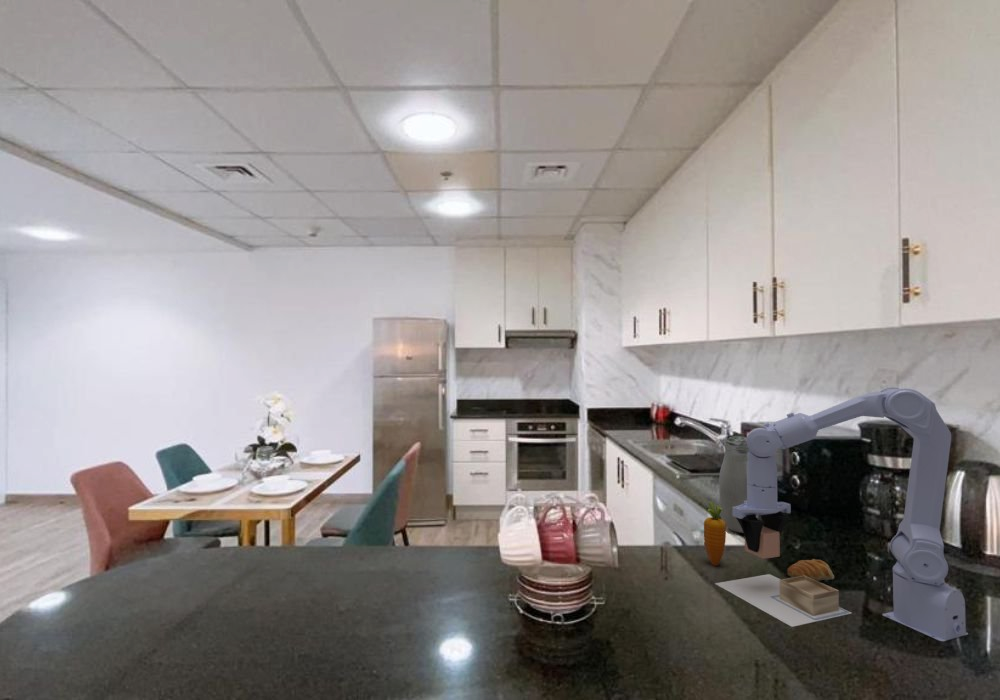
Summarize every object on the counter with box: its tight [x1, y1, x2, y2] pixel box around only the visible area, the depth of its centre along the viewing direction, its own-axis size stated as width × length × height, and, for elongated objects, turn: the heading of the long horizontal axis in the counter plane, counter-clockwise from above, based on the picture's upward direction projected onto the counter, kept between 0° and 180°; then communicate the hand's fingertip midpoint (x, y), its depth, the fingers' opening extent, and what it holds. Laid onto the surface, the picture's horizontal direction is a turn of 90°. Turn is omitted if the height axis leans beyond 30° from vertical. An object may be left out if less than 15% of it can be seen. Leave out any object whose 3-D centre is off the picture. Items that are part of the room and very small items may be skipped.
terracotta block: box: [744, 526, 781, 560], centre depth 99 cm, size 5×5×5 cm
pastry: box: [787, 558, 835, 582], centre depth 107 cm, size 9×7×4 cm
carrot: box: [703, 501, 727, 567], centre depth 111 cm, size 5×5×15 cm
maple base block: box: [780, 576, 840, 616], centre depth 92 cm, size 7×7×4 cm
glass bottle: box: [718, 435, 760, 534], centre depth 138 cm, size 10×10×28 cm
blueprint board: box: [714, 573, 852, 628], centre depth 95 cm, size 18×16×1 cm
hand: (762, 549), depth 99 cm, fingers closed on terracotta block, 5 cm apart
